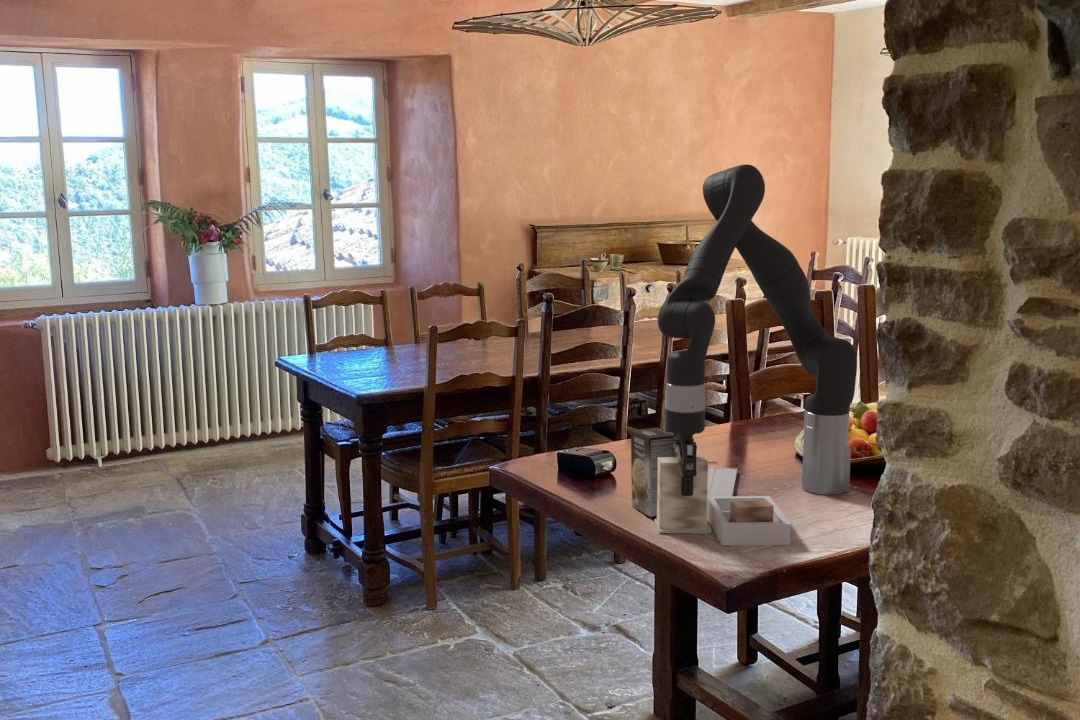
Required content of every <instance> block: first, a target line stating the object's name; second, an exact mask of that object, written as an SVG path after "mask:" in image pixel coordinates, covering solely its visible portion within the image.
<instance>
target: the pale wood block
mask: <svg viewBox="0 0 1080 720" xmlns="http://www.w3.org/2000/svg"><path fill="white" fill-rule="evenodd" d="M708 462H709V461H708V460H707V459H706V457H705V456H696V471H697V474H696V476H694V479H693V495H692V496H682V494H681V475H680V472H681V469H680V466H678V464H677V457H658V467H657V516H656V519H657V524H658V527H659V529H699V528H707V522H708V520H707V519H708V517H707V484H708V467H709V463H708ZM686 470H691V467H690V466H686Z"/></svg>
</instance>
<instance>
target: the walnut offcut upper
mask: <svg viewBox="0 0 1080 720" xmlns="http://www.w3.org/2000/svg"><path fill="white" fill-rule="evenodd" d="M773 510H774V506H773V505H772V504H771V503H769V502H768V501H767V500H754V501H735V502H730V520H731V521H732V522H733V523H735V522H773Z"/></svg>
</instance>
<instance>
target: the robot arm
mask: <svg viewBox="0 0 1080 720" xmlns="http://www.w3.org/2000/svg"><path fill="white" fill-rule="evenodd" d="M765 194H766V183H765V179H764V177H763V175H762V173H761V172H760V170H759V169H758V168H757V167H756V166H754V165H751V164H740V165H735V166H733V167H731V168H727V169H723V170H721V171H718V172H715V173H713V174H710V175H709V176H707V177H706V178H705V179H704V181H703V185H702V195H703V200H704V202H705V204H706V207H707V208H708V210H709V212H710V213H711V215H712V217H713V218H714V219H715V221H716V223H715V224H714V225H713V226H712V227H711V229H710V230H709V231H708V232H707V234H706V235H705V236H704V237H703V238H702V240H701V241H700V242H699V243H698V245H697V246H696V248H694V249H693V250H694V251H693V252H692V254H691V256H690V258H689V261H688V264H687V266H686V269H685V272H684V274H683V277H682V279H681V280H680V281H679V282H678V283H677V285H676V286H675V287H674V288H673V290H672V291H671V293H670V294H669V295H667V297H666V299H665V300H664V302H663V303H662V304H661V307H660V309H659V311H658V314H657V326H658V329H659V331H660V333H661V334H662V335H664V337H668V338H673V339H684V340H690V343H689V345H688V347H687V348H686V349H682V350H679V349H678V350H675V351H672V352H670V353H669V354H668V355H667V359H666V385H665V386H666V388H665V394H664V397H665V398H664V401H665V402H664V428H665V429H664V430H665V431H667V432H669V433H672V434H673V453H672V456H673V457H677V464H678V466H680V469H681V472H680V475H681V494H682V496H692V495H693V479H694V476H696V474H697V471H696V457H697V453H698V452H697V451H698V450H697V449H698V445H697V442H696V441H695V439H694V435H696V434H701V433H703V432H704V431H705V430H706V429H705V428H706V427H705V426H706V390H705V389H706V387H705V364H706V359H707V358H706V357H707V354H708V350H709V346H710V343H711V339H712V336H713V334H714V329H715V326H716V314H715V311H714V310H713V308H712V306H711V305H710V304H708V303H707V302H708V301H710V300H712V299H714V298H715V296H716V295H717V293H718V290H719V288H720V286H721V283H722V280H723V277H724V275H725V271H726V268H727V266H728V264H729V262H730V260H731V258H732V254H733V253H734V252H735V249H736V250H737V251H738V253H739V255H740V257H741V258H742V260H743V261H744V262H745V264H746V266H747V268H748V269H749V271H750V273H751V274H752V276H753V279H754V281H755V282H756V284H757V286H758V287H759V289H760V291H761V293H762V294H763V296H764V297H765V299H766V300H767V302H768V303H769V305H770V307H771V308H772V310H773V313H774V314H775V315H776V317H777V319H778V320H779V322H780V323H781V325H782V326H783V328H784V330H785V332H786V334H787V336H788V338H789V341H790V343H791V345H792V347H793V349H794V352H795V354H796V357H797V358H798V360H799V363H800V365H801V366H802V368H803V369H804V370H805V371H806V372H807V373H808V374H809V375H810V376H813V377H815V378H816V379H817V380H816V387H815V392H814V393H812V394H809V395H807V396H806V398H805V401H804V418H803V419H804V420H803V421H804V422H803V443H802V444H803V445H802V447H803V448H802V449H803V450H802V474H801V475H802V476H801V488H802V489H803V490H804V491H807V492H809V493H813V494H818V495H838V494H840V495H841V494H843V493H849V492H850V476H851V458H852V457H851V456H852V454H851V453H852V450H851V448H850V447H849V431H850V428H849V427H850V412H851V411H850V409H851V404H852V402H853V400H854V397H855V394H856V393H855V391H856V381H857V374H858V373H857V370H858V355H857V352H856V348H855V347H854V345H853V344H852V343H851V342H850V341H848V340H846V339H844V338H839V337H836V336H832V335H830V334H828V333H827V331H826V330H825V329H824V328H823V326H822V325H821V323H820V321H819V320H818V318H817V317H816V315H815V312H814V311H813V307H812V301H811V291H810V284H809V281H808V278H807V276H806V273H805V272H804V271H803V268H802V267H801V264H800V263H799V262H798V261H799V260H797V258H796V256H795V255H794V253H793V252H792V251H791V250H790V249H789V248H788V247H786V246H785V245H784V244H782V243H781V242H780V241H778V240H777V239H775V238H774V237H772V236H770V235H769V234H767V233H766V232H765V231H763V230H762V229H761V228H759V227H758V226H757V225H756V223H754V222H753V219H754V216H755V215H756V213H757V212H758V210H759V208H760V207H761V204H762V202H763V200H764V198H765ZM686 466H690V467H691V470H686Z"/></svg>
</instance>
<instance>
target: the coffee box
mask: <svg viewBox="0 0 1080 720" xmlns="http://www.w3.org/2000/svg"><path fill="white" fill-rule="evenodd" d="M672 453H673V433H670V432H668V431H666V429H662V428H660V427H652V428H640V429H633V430H630V460H631V461H630V463H631V465H630V466H631V467H630V469H631V472H630V473H631V474H630V475H631V477H630V478H631V506H632V507H633V508H634V509H636V510H638V511H640V513H643V514H645V515H647V516H648V517H650V518H651V517H654V518H655V517H657V467H658V457H673V456H672Z"/></svg>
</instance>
